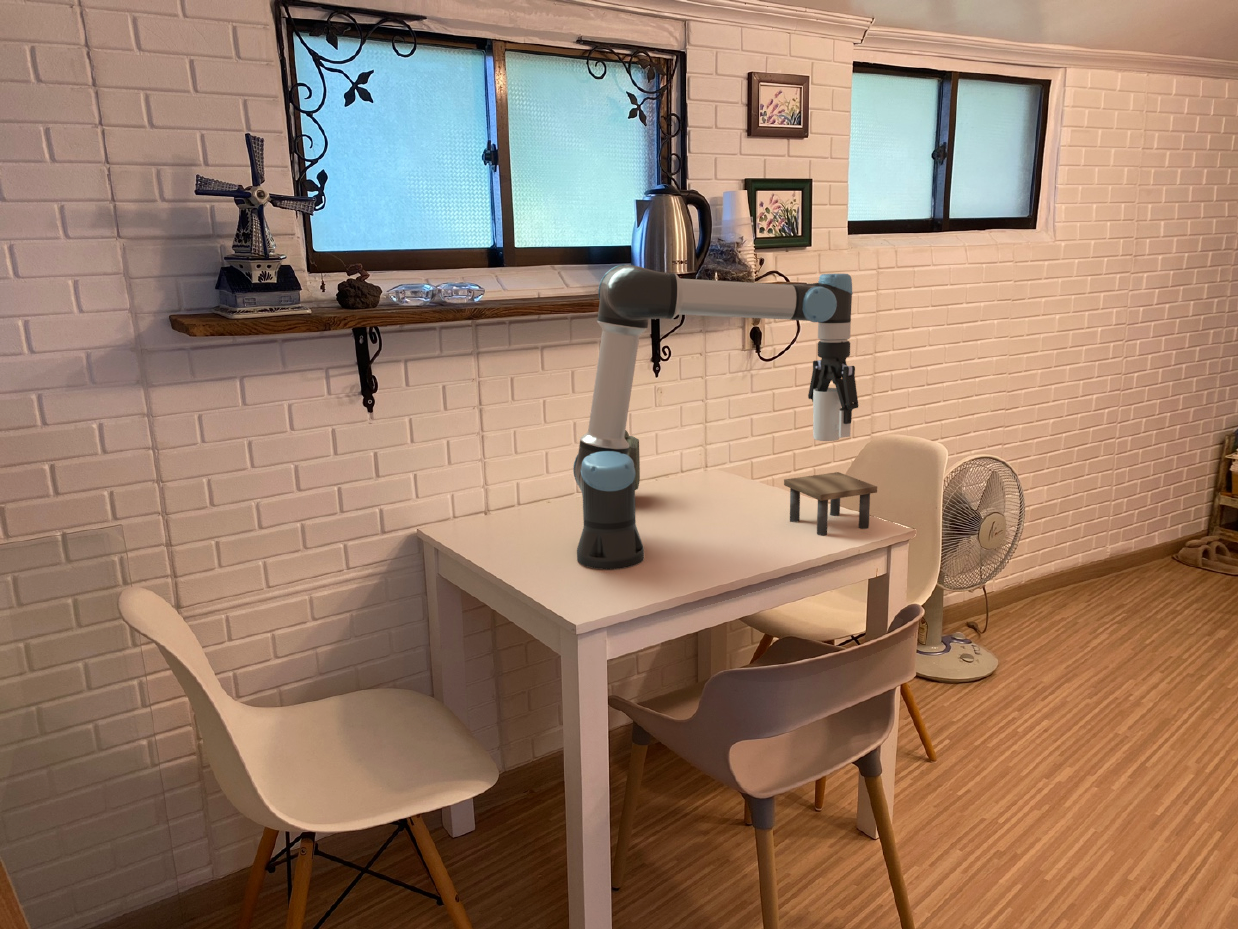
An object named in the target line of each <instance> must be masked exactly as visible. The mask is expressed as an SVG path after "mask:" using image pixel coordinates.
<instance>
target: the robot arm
mask: <svg viewBox="0 0 1238 929" xmlns="http://www.w3.org/2000/svg"><path fill="white" fill-rule="evenodd" d="M818 278H819V279H818V280H817V281H818V282H814V283H764V282H762V283H761V282H749V281H748V282H744V281H730V280H713V279H712V280H711V279H710V280H709V279H694V278H692V279H691V278H680V277H679V276H678V274H677V273H675V272H661V271H656V270H653V269H648V268H644V267H643V266H638V265H633V264H624V263H623V264H619V265H616V266H614V267H611V269H609V270H608V271H606V273H604V275H603V276H602V278H601V280H600V282H599V284H598V291H597V293H598V299H599V305H598V313H597V320H596V322H597V323H598V325H599V327H600V328H601V330H602V331H601V337H600V345H599V352H598V358H597V365H596V373H595V380H594V387H593V394H592V402H591V407H590V416H589V420H588V423H589V424H588V431H587V432H586V433H585V434H583V436H581V437H580V439H579V440H580V441H579V445H578V452H577V455H576V457H575V459H574V462H573V469H572V470H573V471H572V472H573V477H574V480H575V482H576V484H577V486H578V488H579V490H580V491H581V495H582V514H583V515H582V517H583V528H582V531H581V534H580V538H579V542H578V545H577V547H576V548H577V549H576V561H577V562H578V563H579V564H580V565H581V566H584V567H586V568H590V569H596V570H621V569H626V568H627V569H628V568H631V567H634V566H636V565H639V564H640V563H642V562H643V561H644V559H645V547H644V545H643V542H642V539H641V536H640V534H639V531H638V528H637V521H636V490H635V468H634V463H633V460H632V459H631V458H630V457H629V456H628V452H629V444H628V442H627V441H626V440H625V438H624V435H625V430H626V427H627V421H628V415H629V408H630V401H631V394H632V388H633V383H634V382H633V381H634V375H635V367H636V361H637V354H638V349H639V342H640V337H641V335H642V334H643V333H645V332H646V331H647V330H648V329H649V328H648V327H649V322H650V320H657V319H665V320H666V319H667V320H674V318H676V317H677V316H678V315H682V316H683V315H686V316H687V315H688V316H701V317H702V316H704V317H705V316H707V317H723V318H725V317H727V318H746V319H747V318H748V319H769V320H788V321H802V322H805V321H806V322H807V321H808V322H810V323H817V339H818V340H819V341H818V342H817V357H818V358H821V359H820V360H819V359H818V360H813V361H812V374H811V379H810V384H809V389H808V394H807V398H808V400H811V401H812V403H813V390H814V389H816V388H817V389H818V391H819V392H827V389H828V388H830V387H829V386H830V383H831V382H832V383H833V385H834V386H835V388H836V389H837V393H838V396H839V400H840V403H841V409H840V412H839V437H840V438H841V439H842V438H850V437H851V424H852V417H853V410H854V409H855V410H856V409H858V408H859V400H858V391H857V386H856V385H857V384H856V377H855V376H856V375H855V374H856V367H855V366H854V365H848V364H847V358H849V357H850V356H851V342H850V338H851V328H852V327H851V323H852V304H853V303H852V302H853V301H852V300H853V294H854V293H853V280H852V276H851V275H850V274H848V273H823V274H820V275H819V277H818ZM840 438H839V439H840Z"/></svg>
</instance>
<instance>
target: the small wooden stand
mask: <svg viewBox="0 0 1238 929" xmlns="http://www.w3.org/2000/svg"><path fill="white" fill-rule="evenodd" d="M783 485H784V486H785V487H788V488H790V492H789V493H790V494H789V521H790V522H791V523H798V522H800V515H801V506H800V505H801V494H804V495H806V496H807V497H810V498H812V499H816V500H817V514H816V515H817V516H816V517H817V518H816V535H817V536H820V537H821V536H827V535H828V521H829V520H828V518H829V516H828V514H829V515H830V516H834V517H836V516H837V517H838V516H840V514H841V513H840V512H841V499H844V498H849V497H856V496H859V504H858V505H859V509H858V528H859V529H862V530H863V529H864V530H865V529H866V530H867V529H869V528H870V505H871V494H876V493H878V486H877V485H875V484H871V483H869V482H866V481H863V480H861V479H858V478H855V477H852V476H849V475H848V474H845V473H841V472H839V471H838V472H837V471H835V472H828V473H822V474H821V473H820V474H815V475H808V476H807V475H806V476H800V477H791V478H784V479H783ZM829 500H830V504H829ZM829 508H830V510H828V509H829ZM829 511H830V512H829Z"/></svg>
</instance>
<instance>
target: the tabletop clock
mask: <svg viewBox="0 0 1238 929" xmlns="http://www.w3.org/2000/svg"><path fill="white" fill-rule="evenodd" d="M629 434H630V433H628V431H627V430H626V429H625V435H624V438H625V440H626V441H627V442H628V444H629V452H628V456H629V457H630V458H631V459H632V460H633V463H634V468H635V491H637V490H638V489H639V486H640V485H639V484H640V482H641V481H640V480H641V478H640V477H641V467H640V465H641V464H640V440H639V438H637V437H635V436H633V435H629Z"/></svg>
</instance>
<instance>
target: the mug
mask: <svg viewBox="0 0 1238 929" xmlns="http://www.w3.org/2000/svg"><path fill="white" fill-rule="evenodd" d="M812 403H813V404H812V415H813V417H812V418H813V419H812V420H813V422H812V425H813V426H812V431H813V435H812V437H813V439H814V440H816V441H819V442H820V441H821V442H834V441H838V440H840V437H839V412H840V409H841V408H842V407H841V403H840V400H839V396H838V393H837V389H836V387H828V389H827V392H819V391H818V389H817V388H816V389H814V390H813V402H812Z"/></svg>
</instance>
